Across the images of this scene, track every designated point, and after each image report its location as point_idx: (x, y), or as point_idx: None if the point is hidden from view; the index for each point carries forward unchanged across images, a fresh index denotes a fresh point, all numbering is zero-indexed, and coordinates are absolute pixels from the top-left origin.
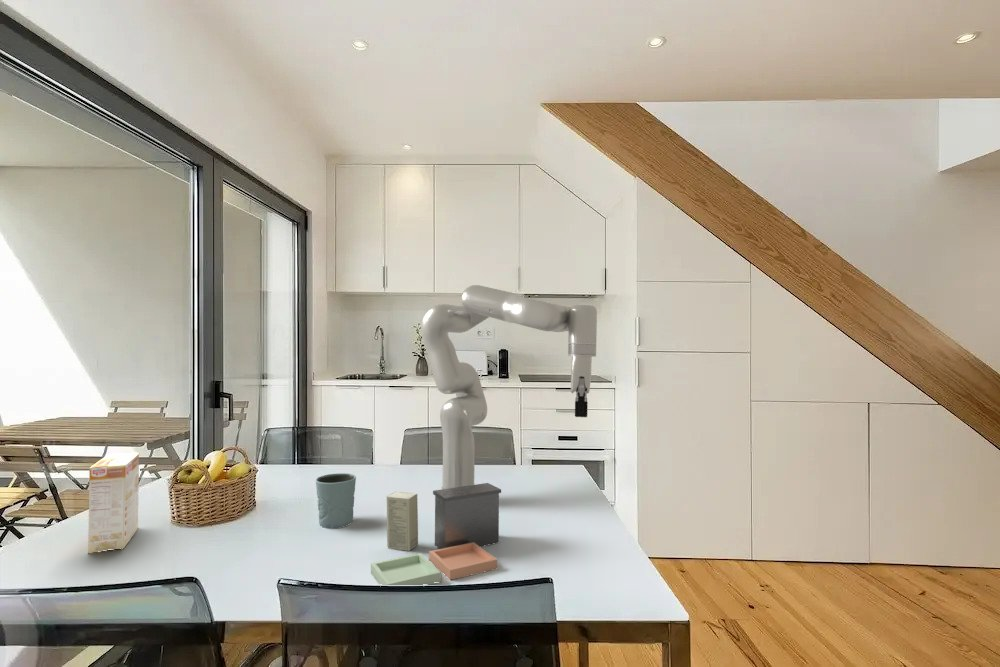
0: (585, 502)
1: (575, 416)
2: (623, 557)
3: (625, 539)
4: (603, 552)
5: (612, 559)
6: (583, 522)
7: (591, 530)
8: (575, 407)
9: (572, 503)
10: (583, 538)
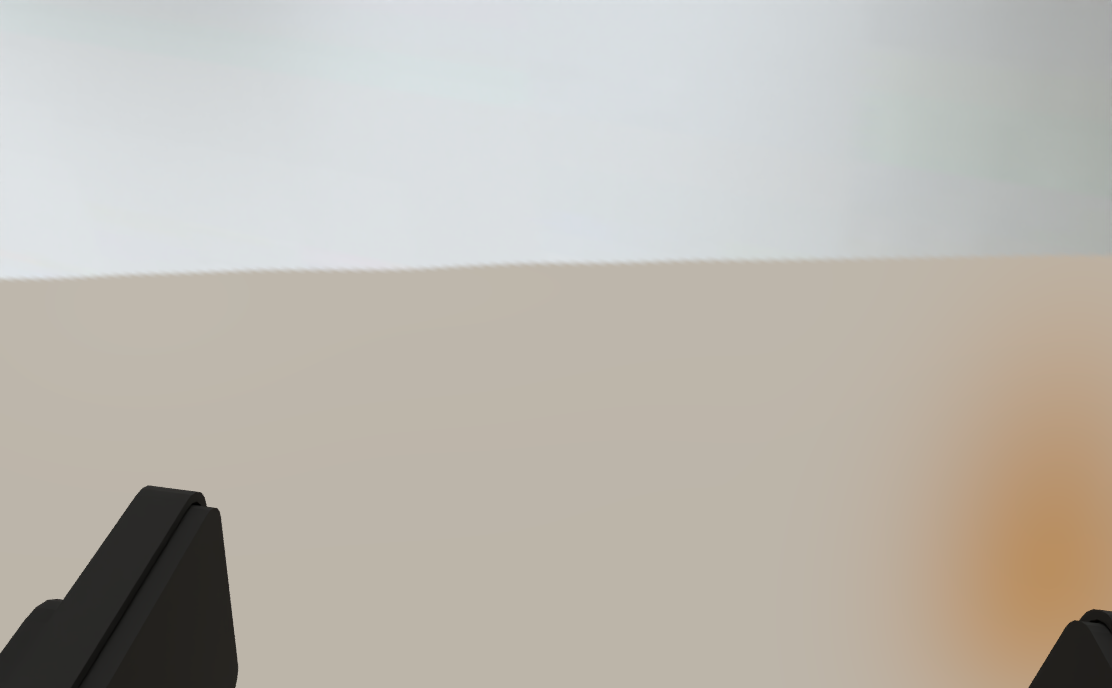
0: (1077, 145)
1: (148, 487)
2: (110, 204)
3: (361, 264)
4: (145, 115)
5: (65, 145)
6: (629, 69)
7: (481, 100)
8: (24, 676)
9: (1075, 40)
10: (333, 29)
